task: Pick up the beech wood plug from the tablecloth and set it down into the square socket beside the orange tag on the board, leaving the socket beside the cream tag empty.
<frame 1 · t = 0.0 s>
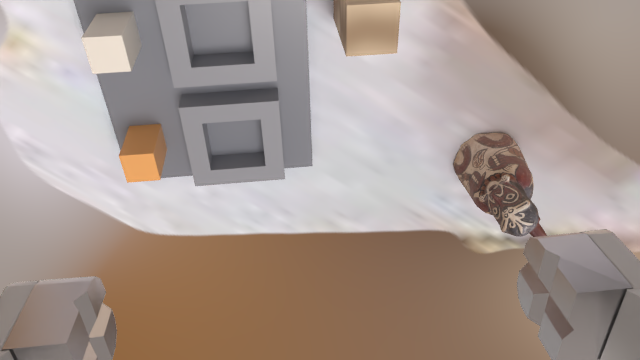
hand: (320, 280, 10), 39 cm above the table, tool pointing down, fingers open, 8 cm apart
socket board: (207, 78, 49), on the table
figurine: (484, 156, 59), on the table
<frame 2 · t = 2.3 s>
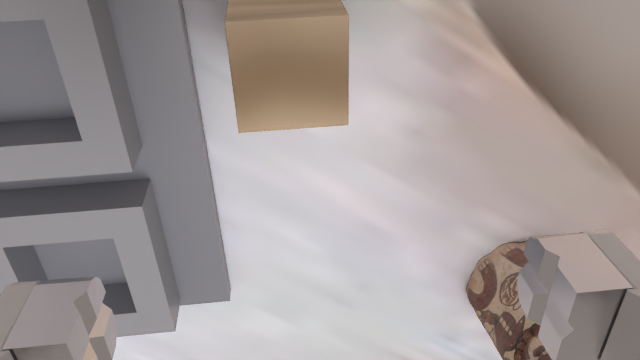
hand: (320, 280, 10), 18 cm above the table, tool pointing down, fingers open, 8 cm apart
socket board: (23, 162, 27), on the table
wood plug: (281, 11, 25), on the table
figurine: (516, 276, 36), on the table
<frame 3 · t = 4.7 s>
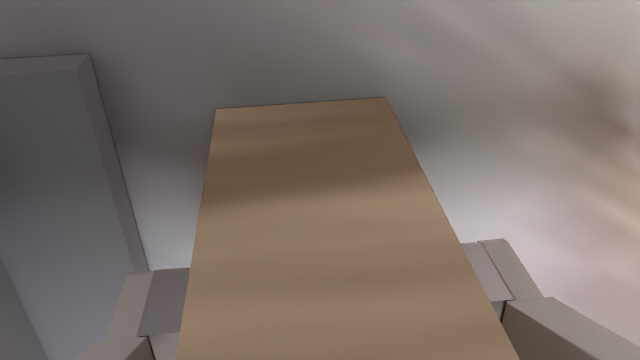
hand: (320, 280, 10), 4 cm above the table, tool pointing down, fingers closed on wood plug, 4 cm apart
wood plug: (305, 175, 13), on the table, touching gripper
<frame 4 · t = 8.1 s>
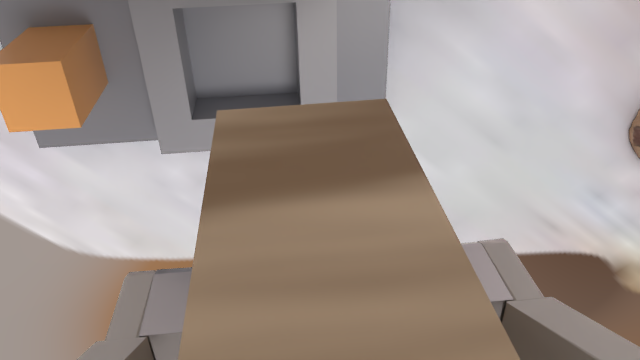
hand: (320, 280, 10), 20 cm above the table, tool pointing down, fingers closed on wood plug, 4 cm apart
wood plug: (306, 176, 13), point 16 cm above the table, touching gripper
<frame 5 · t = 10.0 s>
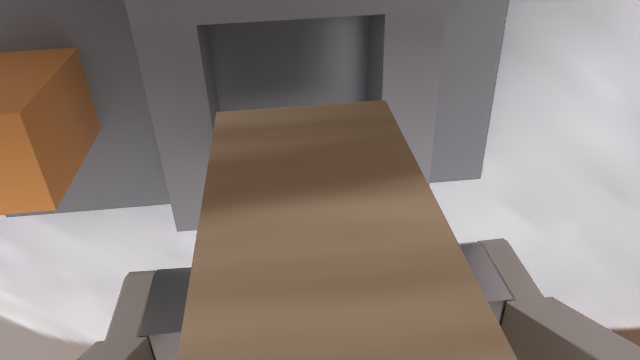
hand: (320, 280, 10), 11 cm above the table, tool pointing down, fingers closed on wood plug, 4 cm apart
wood plug: (305, 177, 13), point 7 cm above the table, touching gripper
when the fingers open (6 cm above the table, at t = 11.6 s): wood plug drops 1 cm, resting on socket board.
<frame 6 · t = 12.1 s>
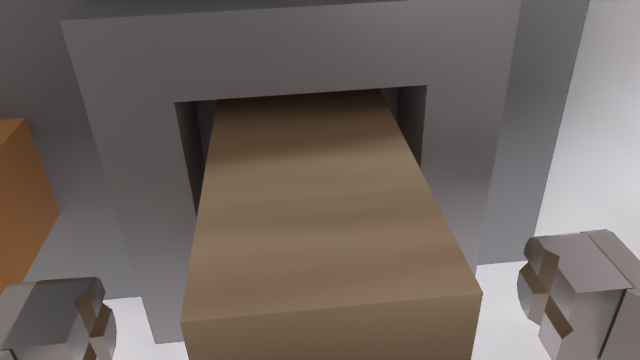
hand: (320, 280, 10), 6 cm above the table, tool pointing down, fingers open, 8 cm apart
wood plug: (300, 148, 15), point 1 cm above the table, touching socket board
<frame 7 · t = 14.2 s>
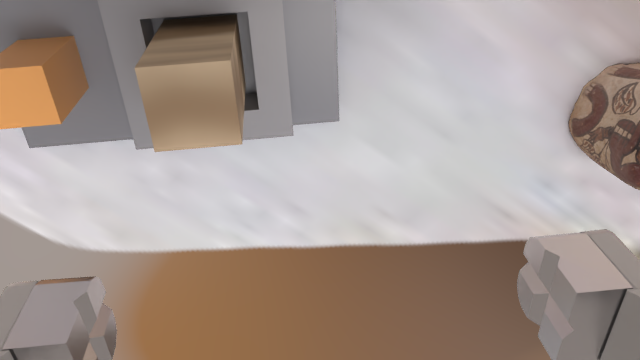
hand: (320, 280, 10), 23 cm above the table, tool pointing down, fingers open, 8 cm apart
wood plug: (206, 52, 30), point 1 cm above the table, touching socket board
figurine: (618, 109, 36), on the table
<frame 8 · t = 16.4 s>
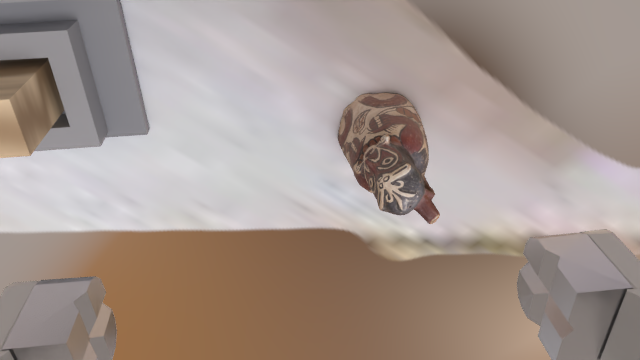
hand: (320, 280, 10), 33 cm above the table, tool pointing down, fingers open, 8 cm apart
wood plug: (33, 83, 40), point 1 cm above the table, touching socket board
figurine: (377, 127, 46), on the table
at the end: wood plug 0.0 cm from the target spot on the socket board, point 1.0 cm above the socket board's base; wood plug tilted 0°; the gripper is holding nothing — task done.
